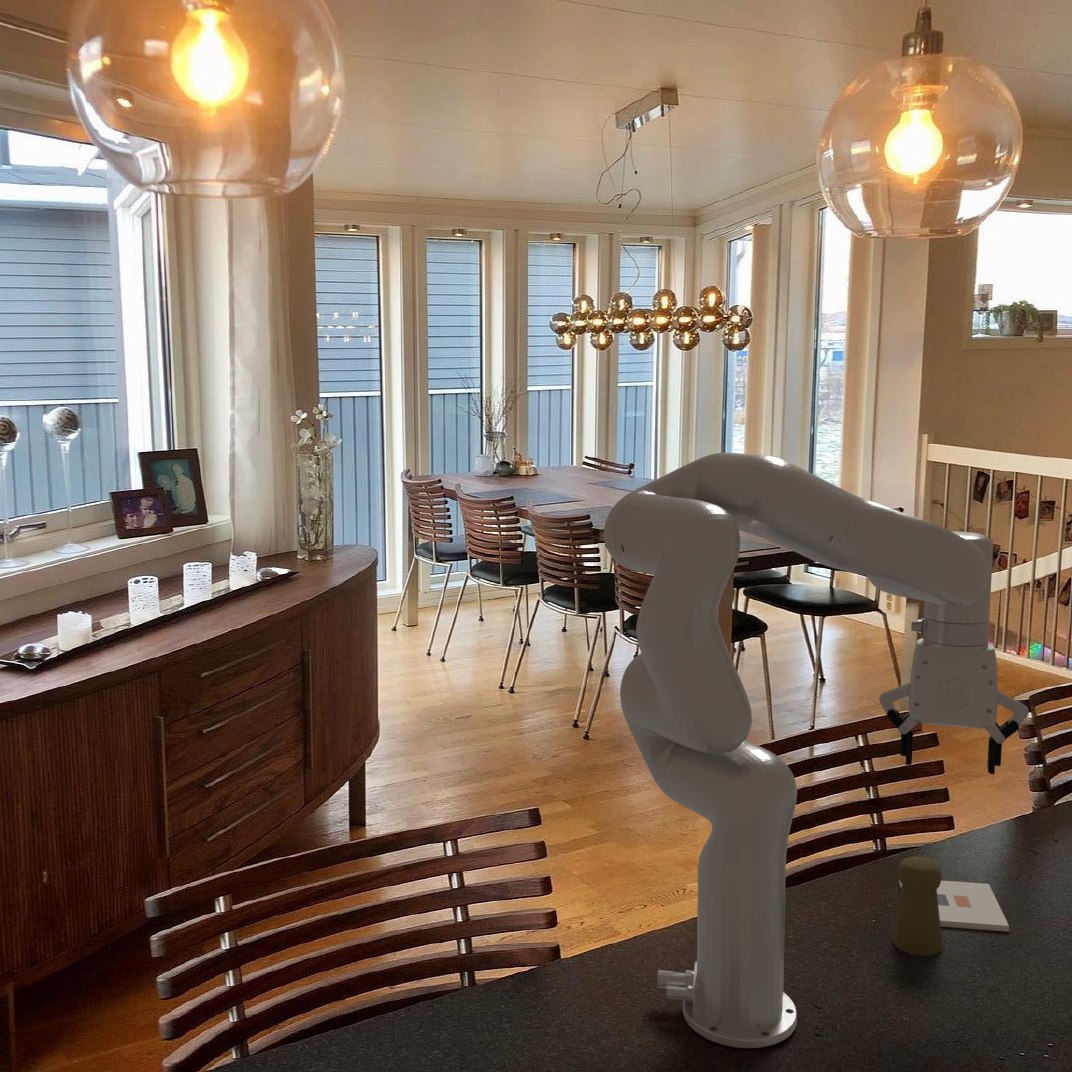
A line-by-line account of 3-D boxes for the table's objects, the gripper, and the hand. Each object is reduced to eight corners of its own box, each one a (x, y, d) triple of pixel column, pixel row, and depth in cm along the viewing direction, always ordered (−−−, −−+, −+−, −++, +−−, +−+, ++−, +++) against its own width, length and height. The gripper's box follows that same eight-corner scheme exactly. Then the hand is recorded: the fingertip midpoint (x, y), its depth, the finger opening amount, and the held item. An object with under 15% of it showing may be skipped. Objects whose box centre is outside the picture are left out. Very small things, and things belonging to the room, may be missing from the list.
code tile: (911, 924, 142) (911, 918, 142) (898, 882, 153) (898, 877, 153) (1008, 931, 139) (1009, 925, 139) (988, 889, 151) (988, 883, 151)
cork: (949, 955, 134) (953, 871, 132) (900, 956, 134) (903, 871, 132) (933, 931, 140) (936, 850, 138) (885, 931, 140) (888, 850, 138)
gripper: (880, 633, 133) (875, 768, 135) (1035, 644, 127) (1027, 784, 129) (883, 621, 140) (878, 749, 142) (1030, 631, 134) (1022, 764, 136)
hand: (949, 766), depth 135 cm, fingers open, 9 cm apart
